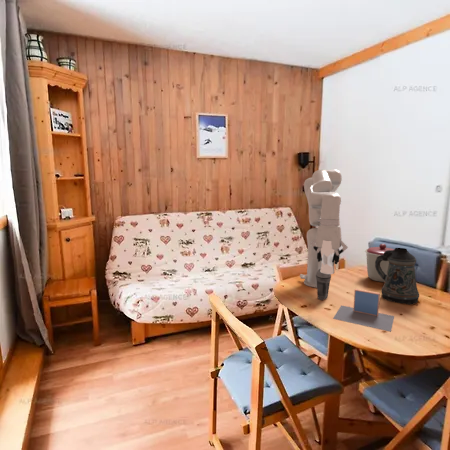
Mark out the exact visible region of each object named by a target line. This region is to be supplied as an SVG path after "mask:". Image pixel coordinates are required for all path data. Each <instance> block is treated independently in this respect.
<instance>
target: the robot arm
mask: <svg viewBox="0 0 450 450" xmlns="http://www.w3.org/2000/svg"><path fill="white" fill-rule="evenodd" d="M342 178H343V177H342V173H341V171H340V170H338V169H318V170H315V171H314V172H313V174H312V175H311V177H308V178H307V179H305V180H304V183H303V185H304V186H303V188H304V193H305V197H306V199H307V204H308V221H309V224H310V226H313V227H314V228H309V230H307V232H306V243H307V263H306V264H307V269H306V271H307V272H306V274H302V273H300V274H299V278H300V279H301V280H302V279H303V284H304V285H305V286H307V287H310V288H316V289H317V280H316V273H317V271H318V270H319V269H320V268H321V264H322V263H321V254H320V248H322V244H323V240H326V241H332V242H331V245H332V249H333V250H335V253H336V255H335V261H334V265H337V264H338V263H340V255H341V254H342V253H344V252H345V251H346V250H347V249H348V248H349V247H348V246H347V244H346V243H345V242H344V241H343V240H342V228H341V225H340V223H341V221H340V208H341V206H340V205H342V204H341V202H342V200H341V199H342V197H341V195H340V194H339V193H338V192H337V190H338V189H339V187H340V186H341V184H342V181H343V179H342ZM341 247H342V248H341ZM340 248H341V249H340Z"/></svg>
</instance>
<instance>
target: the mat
mask: <svg viewBox="0 0 450 450" xmlns="http://www.w3.org/2000/svg"><path fill="white" fill-rule="evenodd" d="M353 309H354V307H351V306H347V305H340V307H339V309H337V311H336V313H335V314H334V316H333V317H332V319H333V320H337V321H342V322H346V323H350V324H351V323H352V324H355V325H360V326H364V327H368V328H373V329H377V330H382V331H386V332H390V333H391V332H392V329H393V323H394V320H395V315H391V314H385V313H381V312H379V314H378V316H375V315H370V314H365V313H360V312H355V311H353Z"/></svg>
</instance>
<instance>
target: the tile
mask: <svg viewBox="0 0 450 450" xmlns="http://www.w3.org/2000/svg"><path fill="white" fill-rule="evenodd" d="M353 297H354V298H353V308H354V309H353V311H355V312H360V313H365V314H370V315H375V316H378V314H379V313H380V312H379V311H380V310H379V309H380V297H381V292H376V291H372V290H371V291H370V290H365V289H359V288H355V289H354V295H353Z"/></svg>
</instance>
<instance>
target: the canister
mask: <svg viewBox="0 0 450 450" xmlns="http://www.w3.org/2000/svg"><path fill="white" fill-rule="evenodd" d="M394 249H395V248H391V247H387V245H386V243H380V244H379V246H371V247H369V248H367V249H365V251H364V252H365V253H366V256H365V257H366V268H367V277H368V278H369V279H370V280H372V281H375V282H380V283H385V280H383V279H382V278H381V276H380V275H379V274H378V272H377V270H376V268H375V261H376V259H377V257H378V256H380V255H383V254H384V253H385V251H387V250H394ZM388 266H389V261H381V263H380V267H381V269H382V271H383V272H384V273H385V274H386V275H387V270H388Z"/></svg>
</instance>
